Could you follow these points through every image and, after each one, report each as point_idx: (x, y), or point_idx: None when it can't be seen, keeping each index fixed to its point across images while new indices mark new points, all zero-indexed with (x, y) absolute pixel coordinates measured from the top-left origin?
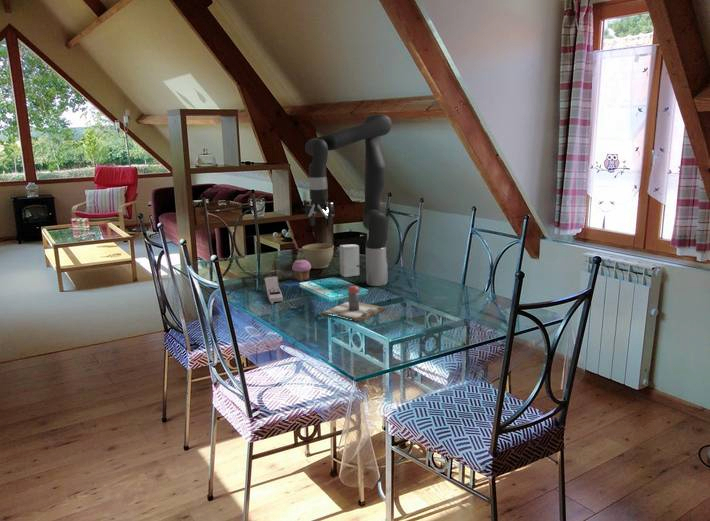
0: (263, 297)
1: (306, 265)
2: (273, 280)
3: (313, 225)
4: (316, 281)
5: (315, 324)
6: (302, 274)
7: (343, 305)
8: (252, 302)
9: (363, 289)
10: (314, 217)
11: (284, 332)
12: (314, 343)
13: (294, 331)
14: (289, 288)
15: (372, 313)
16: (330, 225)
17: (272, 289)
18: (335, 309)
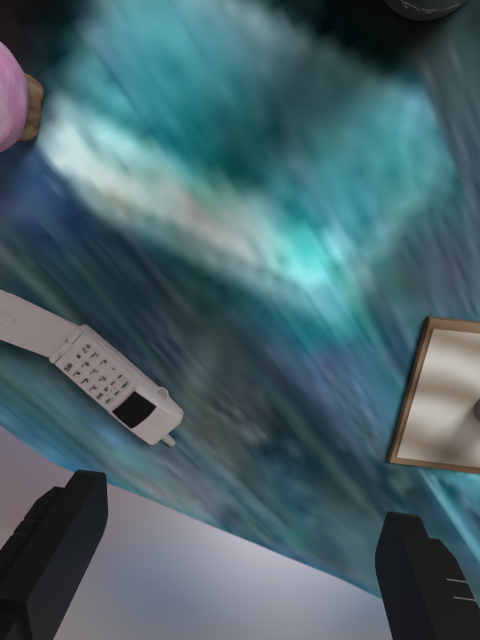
0: None
1: (5, 102)
2: (15, 314)
3: (106, 493)
4: (97, 90)
5: None
6: (24, 131)
7: (433, 385)
8: (98, 445)
9: (403, 108)
10: (38, 588)
11: (362, 589)
12: None
13: None
14: (77, 257)
15: None
16: (439, 547)
17: (73, 356)
18: (424, 430)
